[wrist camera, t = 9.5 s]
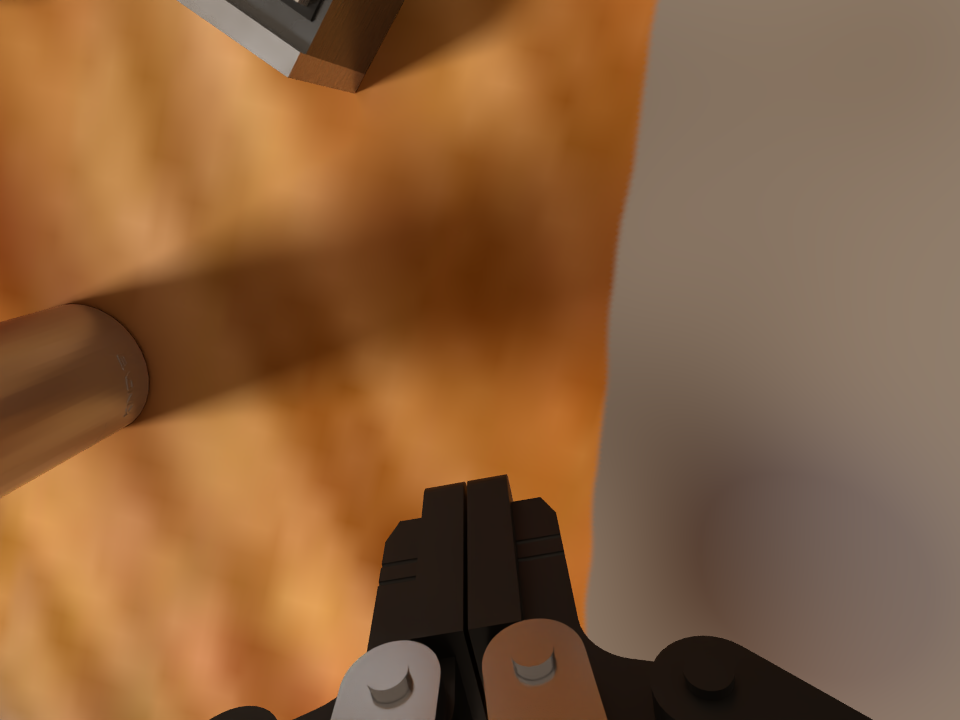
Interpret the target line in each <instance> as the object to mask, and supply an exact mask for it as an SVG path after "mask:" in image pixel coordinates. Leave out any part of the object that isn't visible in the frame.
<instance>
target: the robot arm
mask: <svg viewBox="0 0 960 720" xmlns="http://www.w3.org/2000/svg"><path fill="white" fill-rule="evenodd" d="M148 391H149V377H148V371H147V366H146V362H145V360H144V357H143V355H142V352H141V350H140V348H139V347H138V345H137V343H136V342H135V340H134V338H133V337H132V336H131V335H130V333H129V332H128V331H127V330H126V329H125V328H124V327H123V326H122V325H121V324H120V323H119V322H118V321H116V320H115V319H114V318H113V317H111V316H110V315H108V314H106V313H104V312H102V311H101V310H99V309H96V308H93V307H89V306H86V305H79V304H67V305H61V306H57V307H53V308H49V309H46V310H42V311H39V312H35V313H32V314H28V315H25V316H21V317H17V318H13V319H10V320H6V321H2V322H0V498H2V497H3V496H5V495H7V494H9V493H10V492H12V491H14V490H16V489H17V488H19V487H21V486H23V485H24V484H26V483H28V482H30V481H31V480H33V479H35V478H37V477H38V476H40V475H42V474H44V473H45V472H47V471H49V470H51V469H52V468H54V467H56V466H58V465H59V464H61V463H63V462H65V461H66V460H68V459H70V458H71V457H73V456H75V455H77V454H78V453H80V452H82V451H84V450H86V449H88V448H89V447H91V446H93V445H94V444H96V443H98V442H100V441H101V440H103V439H105V438H107V437H108V436H110V435H112V434H114V433H115V432H117V431H119V430H120V429H122V428H124V427H125V426H127V425H129V424H130V423H132V422H133V421H134V420H135V419H136V418H137V416H138V415H139V414H140V413H141V411H142V409H143V407H144V405H145V403H146V399H147V395H148ZM210 720H277V719H276V718H275V716H274V715H273V714H272V713H271V712H270V711H268V710H266V709H264V708H261V707H257V706H244V707H238V708H234V709H230V710H228V711H225V712H223V713H221V714H219V715H217V716H215V717H213V718H212V719H210ZM293 720H872V719H871V718H869V717H867V716H865V715H863V714H862V713H860V712H858V711H856V710H854V709H853V708H851V707H849V706H847V705H846V704H844V703H842V702H840V701H839V700H837V699H835V698H833V697H831V696H830V695H828V694H826V693H824V692H822V691H821V690H819V689H817V688H815V687H814V686H812V685H810V684H808V683H807V682H805V681H803V680H801V679H799V678H797V677H796V676H794V675H792V674H791V673H789V672H787V671H785V670H783V669H781V668H780V667H778V666H776V665H774V664H773V663H771V662H769V661H767V660H766V659H764V658H762V657H760V656H758V655H757V654H755V653H753V652H751V651H750V650H748V649H746V648H744V647H743V646H740V645H738V644H736V643H734V642H732V641H729V640H726V639H723V638H718V637H713V636H693V637H688V638H684V639H681V640H678V641H675V642H674V643H672V644H670V645H668V646H667V647H666V648H665V649H663V650H662V651H661V652H660V654H659V655H658V656H657V657H656V659H655V661H654V662H653V661H645V660H637V659H629V658H623V657H620V656H616V655H613V654H611V653H609V652H607V651H604V650H603V649H601V648H599V647H598V646H596V645H595V644H594V643H593V642H592V641H591V640H589V639H588V637H587V636H586V635H585V634H584V632H583V630H582V628H581V627H580V624H579V620H578V616H577V612H576V607H575V602H574V597H573V592H572V588H571V583H570V578H569V573H568V568H567V564H566V559H565V554H564V549H563V544H562V540H561V535H560V530H559V525H558V520H557V515H556V512H555V511H554V510H553V509H552V508H551V507H550V506H549V505H548V504H547V503H546V502H545V501H544V500H543V499H542V498H541V497H538V498H532V499H527V500H521V501H515V502H513V499H512V494H511V489H510V484H509V480H508V476H507V474H506V475H500V476H494V477H489V478H483V479H477V480H471V481H468V482H467V485H466V483H465V482H461V483H455V484H449V485H444V486H438V487H432V488H427V489H425V491H424V499H423V509H422V518H418V519H412V520H406V521H400V522H399V524H398V525H397V527H396V528H395V529H394V531H393V532H392V534H391V535H390V537H389V538H388V539H387V541H386V542H385V548H384V554H383V560H382V568H381V572H380V578H379V586H378V589H377V595H376V601H375V607H374V613H373V619H372V625H371V631H370V637H369V643H368V649H367V653H365V654H364V655H363V656H361V657H360V658H359V659H358V660H357V661H356V662H355V663H354V664H353V665H352V666H351V667H350V668H349V670H348V671H347V673H346V674H345V676H344V678H343V680H342V683H341V685H340V689H339V692H338V696H337V697H336V698H335V699H333V700H332V701H330V702H329V703H327V704H326V705H324V706H322V707H320V708H318V709H316V710H313V711H311V712H309V713H307V714H305V715H302V716H300V717H298V718H296V719H293Z"/></svg>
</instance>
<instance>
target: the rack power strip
mask: <svg viewBox="0 0 960 720" xmlns="http://www.w3.org/2000/svg"><path fill="white" fill-rule="evenodd" d="M177 1H179V2H180V3H182V4H183V5H184V6H186V7H187V8H189V9H190V10H192V11H193V12H194V13H196V14H197V15H199V16H200V17H202V18H203V19H205V20H206V21H207V22H209V23H210V24H212V25H213V26H215V27H216V28H218V29H219V30H220V31H222V32H223V33H225V34H226V35H228V36H229V37H230V38H232V39H233V40H235V41H236V42H238V43H239V44H241V45H242V46H243V47H245V48H246V49H248V50H249V51H251V52H252V53H253V54H255V55H256V56H258V57H259V58H261V59H262V60H264V61H265V62H266V63H268V64H269V65H271V66H272V67H274V68H275V69H276V70H278V71H279V72H281V73H282V74H284V75H285V76H287V77H288V78H292V79H296V80H301V81H305V82H309V83H313V84H317V85H321V86H325V87H329V88H334V89H338V90H342V91H346V92H350V93H354V94H355V92H356V90H357V88H358V86H359V84H360V83H361V81H362V79H363V77H364V75H365V73H366V71H367V69H368V67H369V66H370V64H371V62H372V60H373V58H374V56H375V54H376V52H377V51H378V49H379V47H380V45H381V43H382V41H383V39H384V37H385V35H386V34H387V32H388V30H389V28H390V26H391V24H392V22H393V20H394V19H395V17H396V15H397V13H398V11H399V9H400V7H401V5H402V4H403V2H404V0H177Z"/></svg>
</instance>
